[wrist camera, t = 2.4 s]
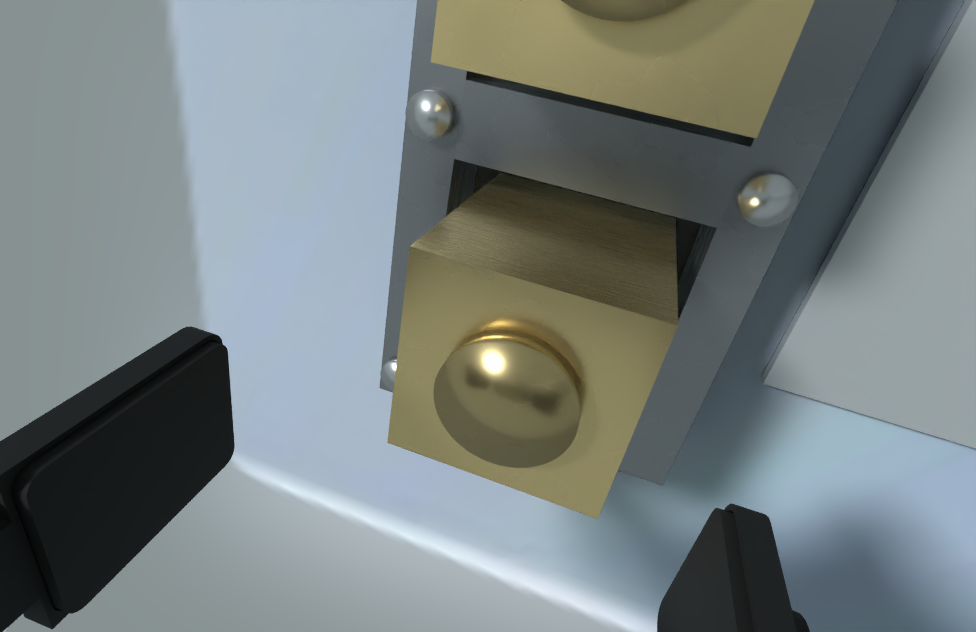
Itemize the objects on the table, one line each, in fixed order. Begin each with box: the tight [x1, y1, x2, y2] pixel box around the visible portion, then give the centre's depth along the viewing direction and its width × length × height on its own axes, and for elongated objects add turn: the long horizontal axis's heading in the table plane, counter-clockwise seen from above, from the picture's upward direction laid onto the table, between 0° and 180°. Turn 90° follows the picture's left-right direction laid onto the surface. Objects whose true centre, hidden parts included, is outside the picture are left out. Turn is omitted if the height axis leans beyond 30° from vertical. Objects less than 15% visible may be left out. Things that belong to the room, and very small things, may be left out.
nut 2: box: [388, 172, 678, 519], centre depth 15 cm, size 6×6×8 cm
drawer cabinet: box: [380, 0, 898, 485], centre depth 14 cm, size 10×19×3 cm, turn 170°
